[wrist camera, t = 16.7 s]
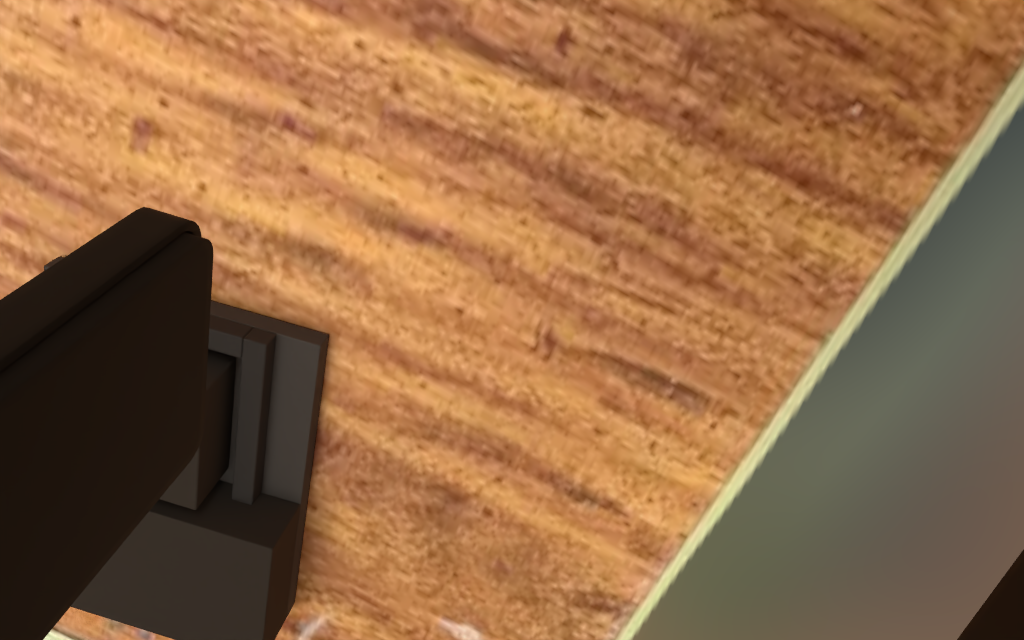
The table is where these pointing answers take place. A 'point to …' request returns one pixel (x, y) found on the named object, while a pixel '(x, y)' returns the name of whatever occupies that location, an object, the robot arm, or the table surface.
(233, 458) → the pad base
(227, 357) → the loose pad
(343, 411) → the table surface
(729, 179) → the table surface
